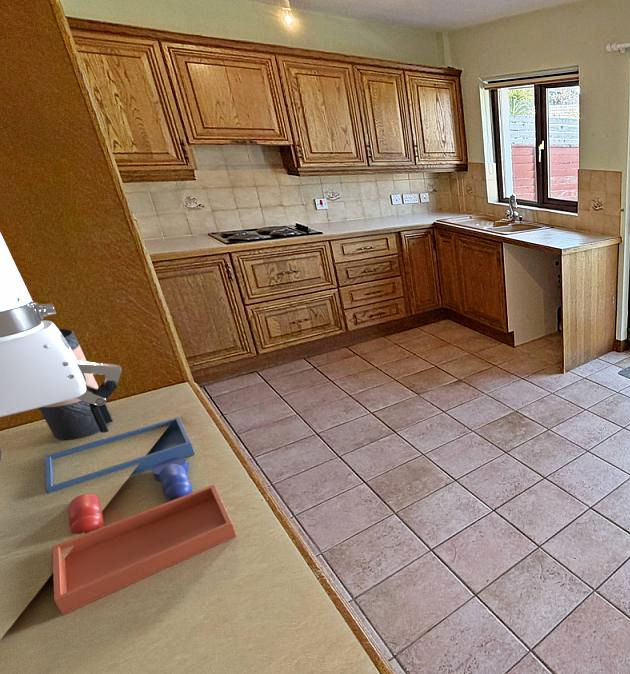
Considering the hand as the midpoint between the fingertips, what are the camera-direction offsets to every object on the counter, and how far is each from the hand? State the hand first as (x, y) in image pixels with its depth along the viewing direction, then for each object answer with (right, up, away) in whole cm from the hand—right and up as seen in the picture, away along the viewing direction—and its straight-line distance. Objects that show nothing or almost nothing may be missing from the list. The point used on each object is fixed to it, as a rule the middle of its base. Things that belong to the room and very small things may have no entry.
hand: (53, 442), depth 62 cm
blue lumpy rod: (+3, -10, +15) cm, 18 cm away
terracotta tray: (+10, -15, +3) cm, 18 cm away
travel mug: (-23, -5, +25) cm, 34 cm away
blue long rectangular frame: (-10, -7, +19) cm, 23 cm away
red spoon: (-4, -13, +8) cm, 15 cm away
